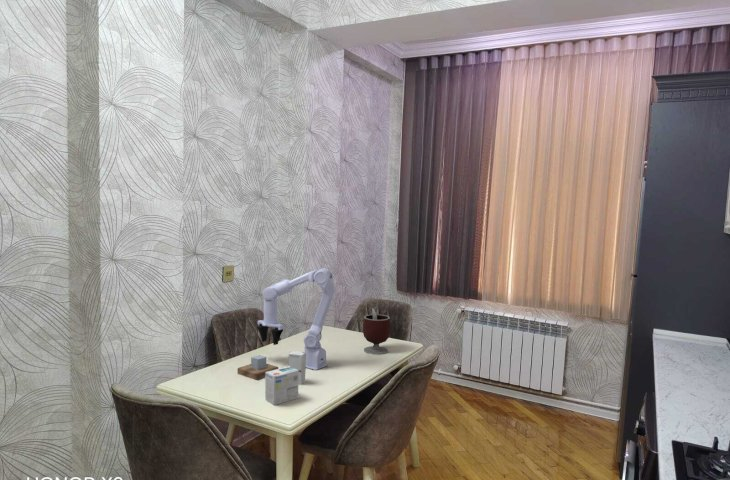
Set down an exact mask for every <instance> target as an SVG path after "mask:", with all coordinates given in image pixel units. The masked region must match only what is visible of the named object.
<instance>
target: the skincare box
mask: <svg viewBox="0 0 730 480" xmlns="http://www.w3.org/2000/svg"><path fill="white" fill-rule="evenodd" d="M288 366H290V367H292V368H295V369H297V370H298V385H303V384H304V383H305V382H306V372H307V371H306V353H305V351H304V352H303V351H297V350H293V351H291V352H289V353H288Z"/></svg>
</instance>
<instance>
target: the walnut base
mask: <svg viewBox="0 0 730 480" xmlns="http://www.w3.org/2000/svg"><path fill="white" fill-rule="evenodd" d="M276 369H279V366H276V365H273V364H270V363H267V362H266V368H263V369H260V370H256V369H253V368H251V363H249V364H246V365H243V366H240V367H237V375H240V376H243V377H246V378H249V379H252V380H255V381H259V380H261V379H265V372H267V371H272V370H276Z"/></svg>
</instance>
